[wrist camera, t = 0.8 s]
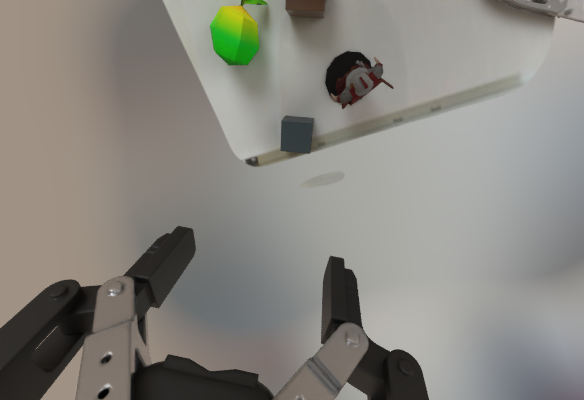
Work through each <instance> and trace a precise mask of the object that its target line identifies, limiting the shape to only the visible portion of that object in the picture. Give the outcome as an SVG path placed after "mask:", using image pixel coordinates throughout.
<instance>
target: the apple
mask: <svg viewBox="0 0 584 400" xmlns="http://www.w3.org/2000/svg"><path fill="white" fill-rule="evenodd" d="M243 4H257V5H266V4H267V3H266V2H265V1H263V0H241V6H222V7H221V8H220V9H219V11H218V13H217V15H216V16H215V18H214V20H213V21H212V23H211V25H210V28H211V34H212V40H213V47H214V50H215V52H216V53H217V54H218V55H219V56H220V57H221V58H222V59H223V60H224V61H225V62H226V63H227V64H228V65H248V63H249V62H250V61H251V59H252V58H253V57H254V55H255V54H256V52H257V51H258V50H259V38H258V25H257V23H256V22H255V20H254V19H253V18H252V17H251V16H250V15H249V14H248V12H247V11H246V10H245V9H244V8H243V7H242V6H243Z"/></svg>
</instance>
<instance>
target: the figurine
mask: <svg viewBox="0 0 584 400" xmlns="http://www.w3.org/2000/svg"><path fill="white" fill-rule="evenodd" d="M374 59H375V61H376V65H375V66H374V67H371V63H370V61H369V60H368V59H367V58H366V57H365V56H364V55H363V54H362V53H360V52H350V51H347V52H345V53H343V54H341V55H339V56H338V57H336V58H335V59H334V60H333V62H332V63H331V65H330V66H329V68H328V69H327V75H326V82H325V83H326V86H327V89H328V92H329V95H330V96H331V97H332V99H333V101H337V102H340V103H343V104H342V109H344V108H345V107H346V106H347V104H348V103H349V104H350V105H352V104H354V103H355V102H356V101H358V100H359V99H362V97H363V96H365V95H366V94H367V93H369V92H370V91H371V90H372V89H374V88H375V87H376V86H377V85H379V84H380V83H381V82H384V83H385V84H387V85H388V86H389V87H391V88H392V89H393V86H392V85H390V84H389V83H388V82H386V81H385V80H383V79H382V78H381V76H382V74H383V68H382V64H381V63H380V62H379V61H378V60H377V59H376V57H375V58H374Z"/></svg>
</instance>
